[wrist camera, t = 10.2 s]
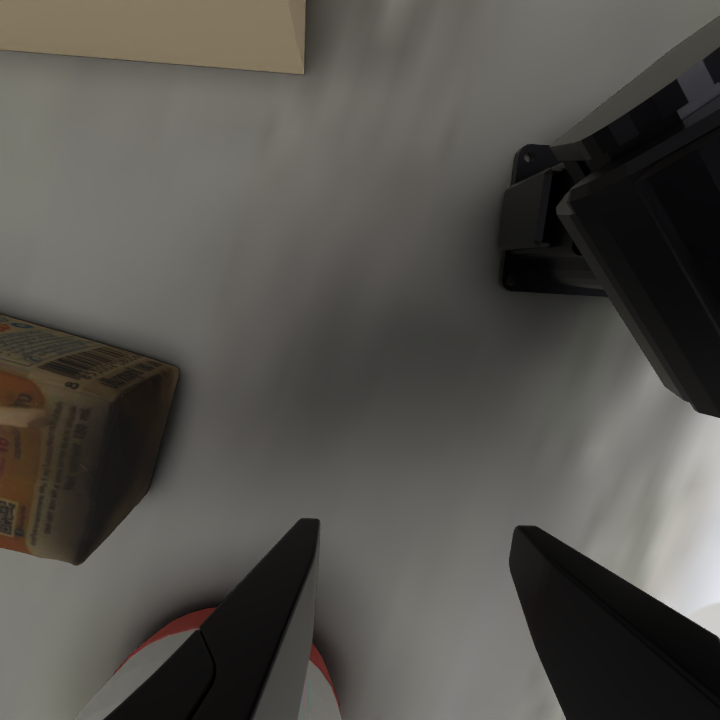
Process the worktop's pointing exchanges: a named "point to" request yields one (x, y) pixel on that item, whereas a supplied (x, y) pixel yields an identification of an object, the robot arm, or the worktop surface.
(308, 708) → the citrus juicer
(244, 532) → the worktop surface
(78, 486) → the beverage carton
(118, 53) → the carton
